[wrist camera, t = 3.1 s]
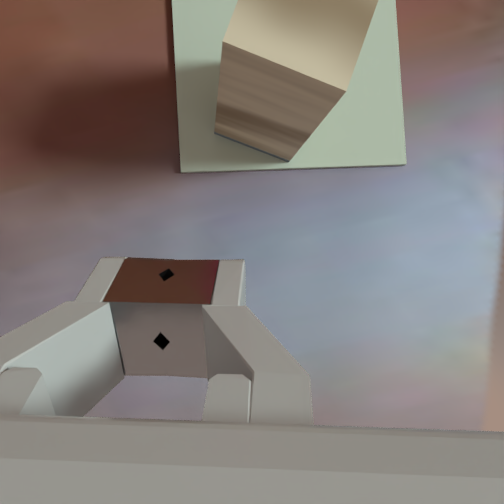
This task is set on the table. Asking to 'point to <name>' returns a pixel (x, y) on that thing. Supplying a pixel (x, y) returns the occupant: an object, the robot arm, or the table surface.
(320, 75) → the block
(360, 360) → the table surface
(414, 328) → the table surface
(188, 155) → the mat
